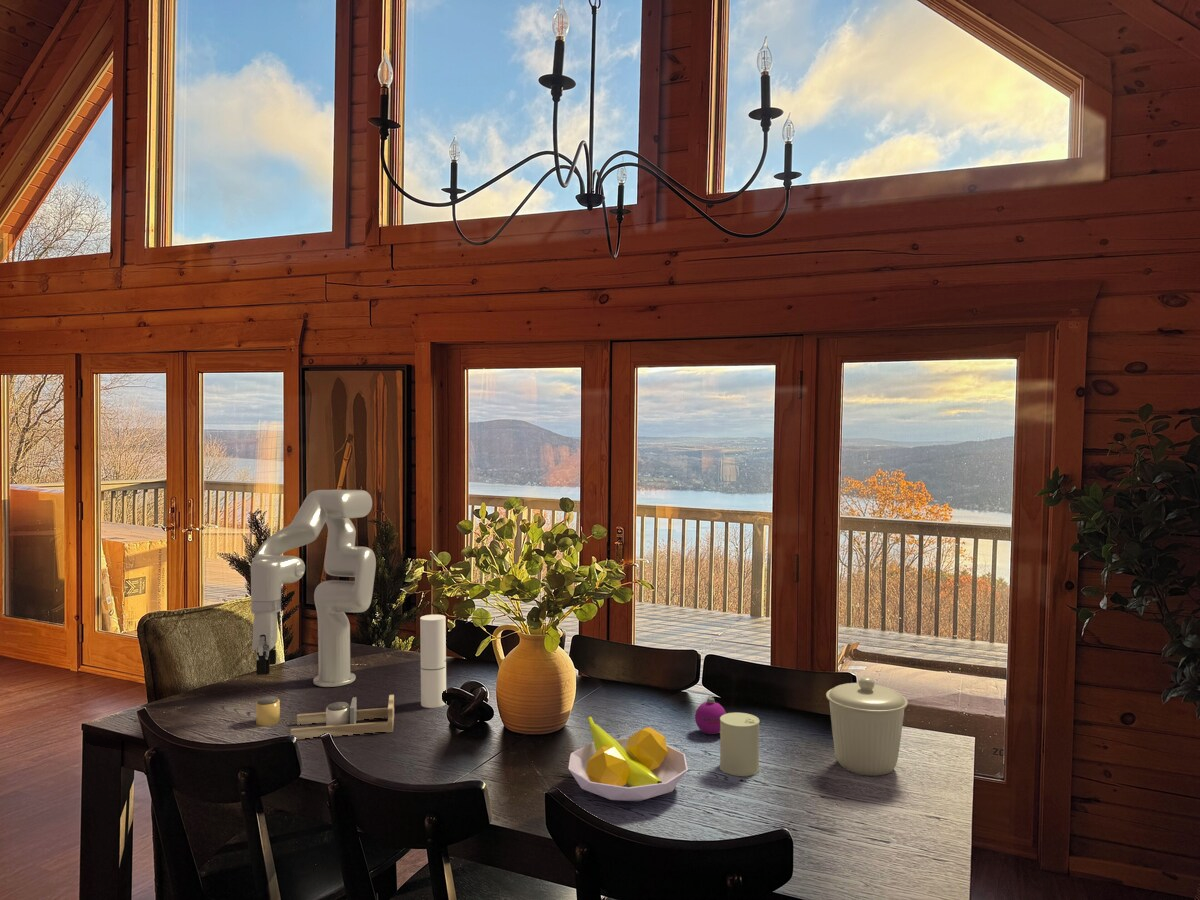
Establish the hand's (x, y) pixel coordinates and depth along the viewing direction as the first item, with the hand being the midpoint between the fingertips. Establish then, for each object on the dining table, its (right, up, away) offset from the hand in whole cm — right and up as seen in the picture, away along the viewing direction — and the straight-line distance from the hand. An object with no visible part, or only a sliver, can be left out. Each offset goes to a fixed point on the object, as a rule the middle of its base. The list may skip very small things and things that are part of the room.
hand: (266, 669), depth 221 cm
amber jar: (0, -15, +1) cm, 15 cm away
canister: (+152, -15, -29) cm, 156 cm away
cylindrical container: (+42, -14, +15) cm, 47 cm away
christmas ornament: (+119, -15, -8) cm, 120 cm away
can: (+123, -15, -30) cm, 127 cm away
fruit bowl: (+96, -16, -39) cm, 104 cm away
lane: (+23, -15, -3) cm, 27 cm away
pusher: (+24, -14, -3) cm, 28 cm away
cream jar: (+21, -15, -4) cm, 26 cm away
